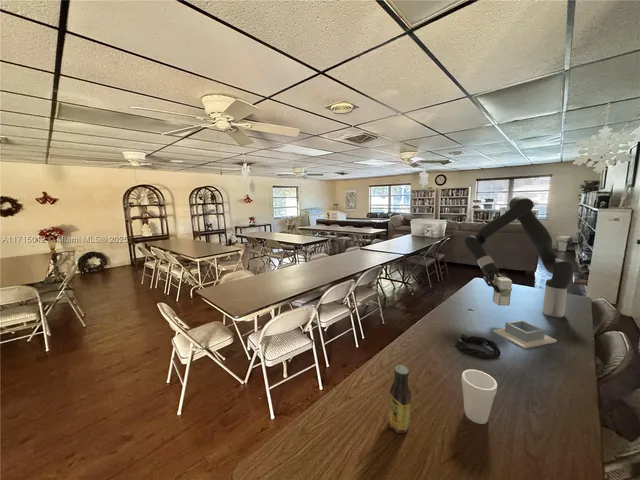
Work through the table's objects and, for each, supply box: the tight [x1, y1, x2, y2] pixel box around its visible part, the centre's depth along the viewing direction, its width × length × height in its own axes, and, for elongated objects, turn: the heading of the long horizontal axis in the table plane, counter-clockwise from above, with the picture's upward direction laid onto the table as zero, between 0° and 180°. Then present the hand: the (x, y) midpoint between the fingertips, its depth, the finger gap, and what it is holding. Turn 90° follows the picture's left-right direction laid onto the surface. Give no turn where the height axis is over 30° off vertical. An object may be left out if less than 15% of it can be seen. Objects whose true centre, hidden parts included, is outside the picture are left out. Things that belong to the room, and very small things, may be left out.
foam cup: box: [461, 369, 498, 425], centre depth 82 cm, size 10×9×13 cm
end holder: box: [492, 319, 558, 350], centre depth 127 cm, size 20×16×6 cm
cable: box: [455, 334, 502, 359], centre depth 117 cm, size 17×14×4 cm
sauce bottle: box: [388, 364, 412, 434], centre depth 78 cm, size 7×6×20 cm
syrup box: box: [492, 277, 513, 307], centre depth 140 cm, size 6×6×14 cm
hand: (504, 291), depth 138 cm, fingers closed on syrup box, 7 cm apart
